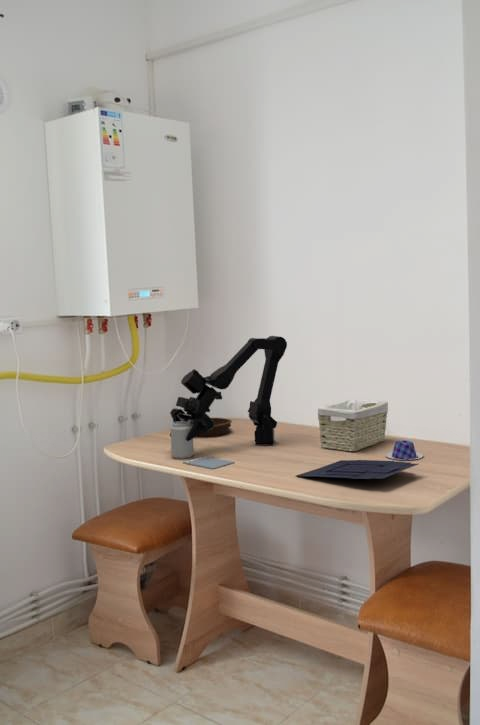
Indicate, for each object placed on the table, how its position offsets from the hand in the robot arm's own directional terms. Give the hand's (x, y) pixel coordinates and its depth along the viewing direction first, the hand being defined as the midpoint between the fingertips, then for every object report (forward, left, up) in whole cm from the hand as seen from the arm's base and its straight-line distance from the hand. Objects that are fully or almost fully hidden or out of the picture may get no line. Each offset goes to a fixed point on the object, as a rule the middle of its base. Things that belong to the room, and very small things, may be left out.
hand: (178, 438), depth 259 cm
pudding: (-75, -6, -7) cm, 75 cm away
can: (-1, -1, -7) cm, 7 cm away
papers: (-61, +19, -7) cm, 64 cm away
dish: (-1, -40, -7) cm, 41 cm away
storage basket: (-58, -23, -7) cm, 63 cm away
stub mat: (-12, +7, -7) cm, 15 cm away
